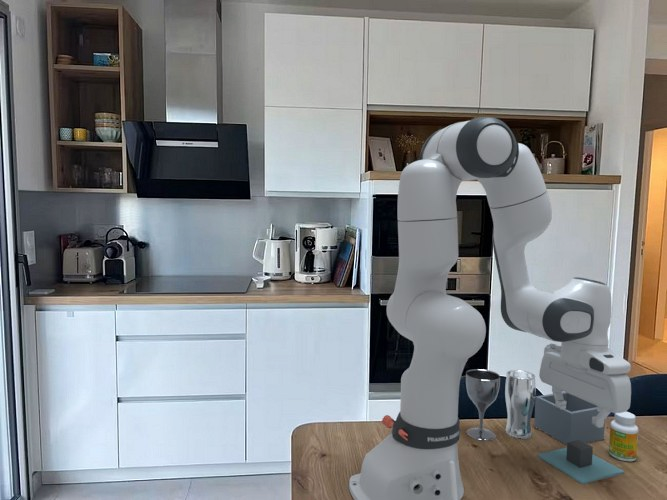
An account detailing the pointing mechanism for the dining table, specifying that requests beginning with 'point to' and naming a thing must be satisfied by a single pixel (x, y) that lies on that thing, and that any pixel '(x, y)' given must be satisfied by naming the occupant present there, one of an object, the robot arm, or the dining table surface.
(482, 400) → the wine glass
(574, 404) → the storage box
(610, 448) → the supplement bottle
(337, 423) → the dining table surface
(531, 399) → the beer glass
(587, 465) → the lid
